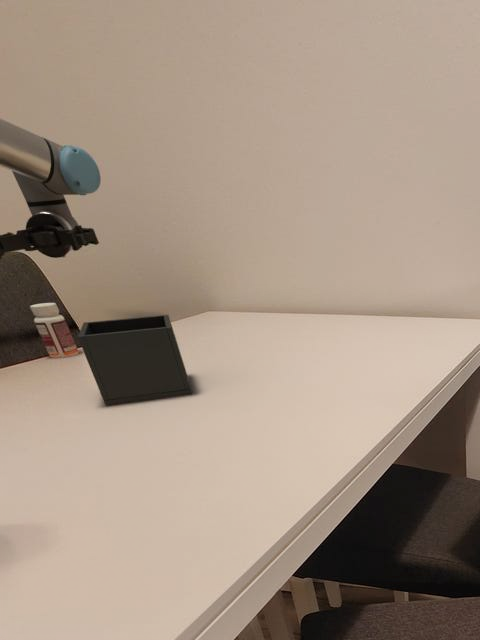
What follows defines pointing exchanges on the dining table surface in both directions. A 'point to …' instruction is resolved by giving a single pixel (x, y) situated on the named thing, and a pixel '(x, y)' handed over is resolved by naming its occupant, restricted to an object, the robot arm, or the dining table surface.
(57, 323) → the pill bottle
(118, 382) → the trash bin
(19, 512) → the dining table surface
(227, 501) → the dining table surface
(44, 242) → the robot arm
